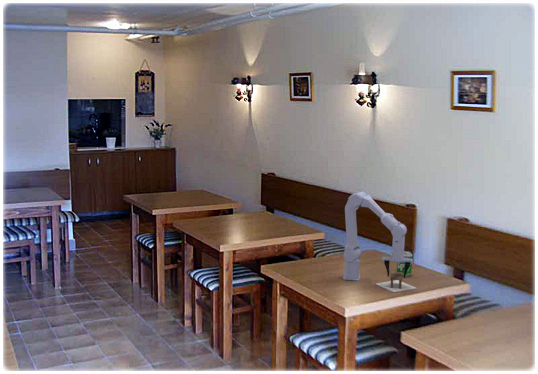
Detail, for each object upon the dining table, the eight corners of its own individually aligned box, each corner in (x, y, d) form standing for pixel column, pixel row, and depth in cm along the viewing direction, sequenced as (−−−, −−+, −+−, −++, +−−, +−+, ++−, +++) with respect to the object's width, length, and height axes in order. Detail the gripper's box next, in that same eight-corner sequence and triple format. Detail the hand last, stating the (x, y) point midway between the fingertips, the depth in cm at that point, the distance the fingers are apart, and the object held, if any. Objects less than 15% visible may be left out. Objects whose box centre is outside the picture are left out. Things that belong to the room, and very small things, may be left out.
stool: (389, 288, 312) (390, 276, 311) (390, 282, 321) (390, 271, 320) (401, 289, 311) (402, 277, 310) (401, 283, 320) (402, 272, 319)
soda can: (393, 273, 338) (394, 251, 336) (404, 272, 341) (406, 249, 340) (402, 277, 331) (404, 254, 330) (414, 276, 335) (415, 253, 333)
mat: (375, 284, 319) (375, 283, 318) (397, 281, 325) (397, 280, 325) (393, 292, 306) (393, 291, 306) (416, 288, 313) (416, 287, 313)
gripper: (382, 250, 310) (381, 277, 313) (413, 252, 308) (411, 280, 310) (382, 246, 317) (381, 273, 319) (413, 248, 315) (411, 276, 317)
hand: (396, 276), depth 315 cm, fingers open, 7 cm apart
